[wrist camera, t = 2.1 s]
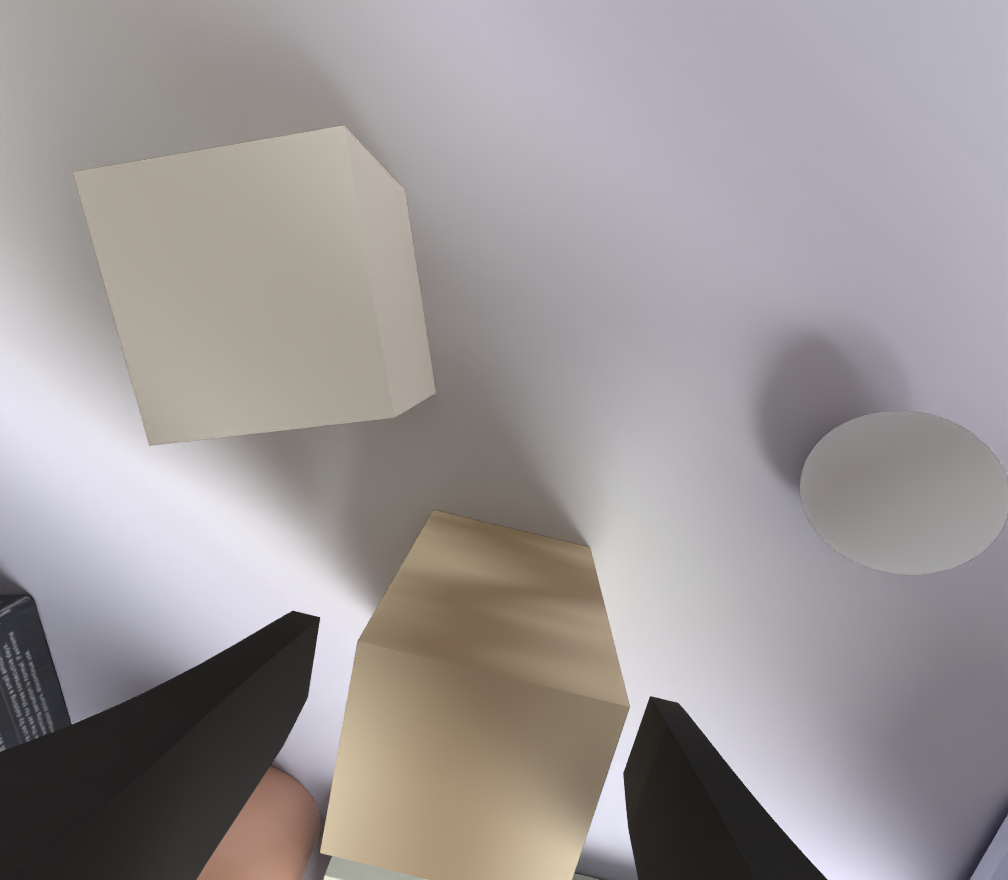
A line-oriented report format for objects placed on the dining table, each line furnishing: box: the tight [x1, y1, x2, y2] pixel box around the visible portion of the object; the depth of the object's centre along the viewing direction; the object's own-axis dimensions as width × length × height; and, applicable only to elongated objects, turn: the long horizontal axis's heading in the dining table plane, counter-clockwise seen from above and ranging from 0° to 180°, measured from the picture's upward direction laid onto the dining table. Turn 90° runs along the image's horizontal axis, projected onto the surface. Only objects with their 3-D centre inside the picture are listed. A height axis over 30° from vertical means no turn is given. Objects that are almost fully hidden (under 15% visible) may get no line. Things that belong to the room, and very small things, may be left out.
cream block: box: [73, 125, 436, 446], centre depth 11 cm, size 5×5×4 cm
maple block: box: [320, 510, 630, 880], centre depth 11 cm, size 4×4×6 cm
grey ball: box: [800, 411, 1008, 575], centre depth 11 cm, size 4×4×4 cm
